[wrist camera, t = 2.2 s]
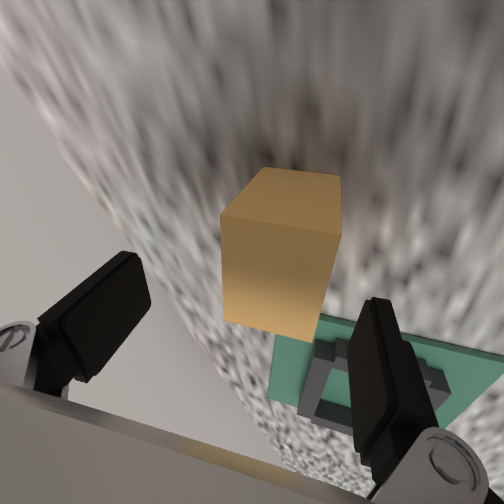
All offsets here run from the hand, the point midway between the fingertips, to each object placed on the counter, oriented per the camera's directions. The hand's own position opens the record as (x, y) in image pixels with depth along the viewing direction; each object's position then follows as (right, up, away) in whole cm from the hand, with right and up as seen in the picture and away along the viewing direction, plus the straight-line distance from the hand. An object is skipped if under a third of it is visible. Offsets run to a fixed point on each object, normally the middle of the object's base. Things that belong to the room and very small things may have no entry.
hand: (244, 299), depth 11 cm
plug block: (+3, +4, +6) cm, 8 cm away
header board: (+10, -10, +13) cm, 19 cm away
